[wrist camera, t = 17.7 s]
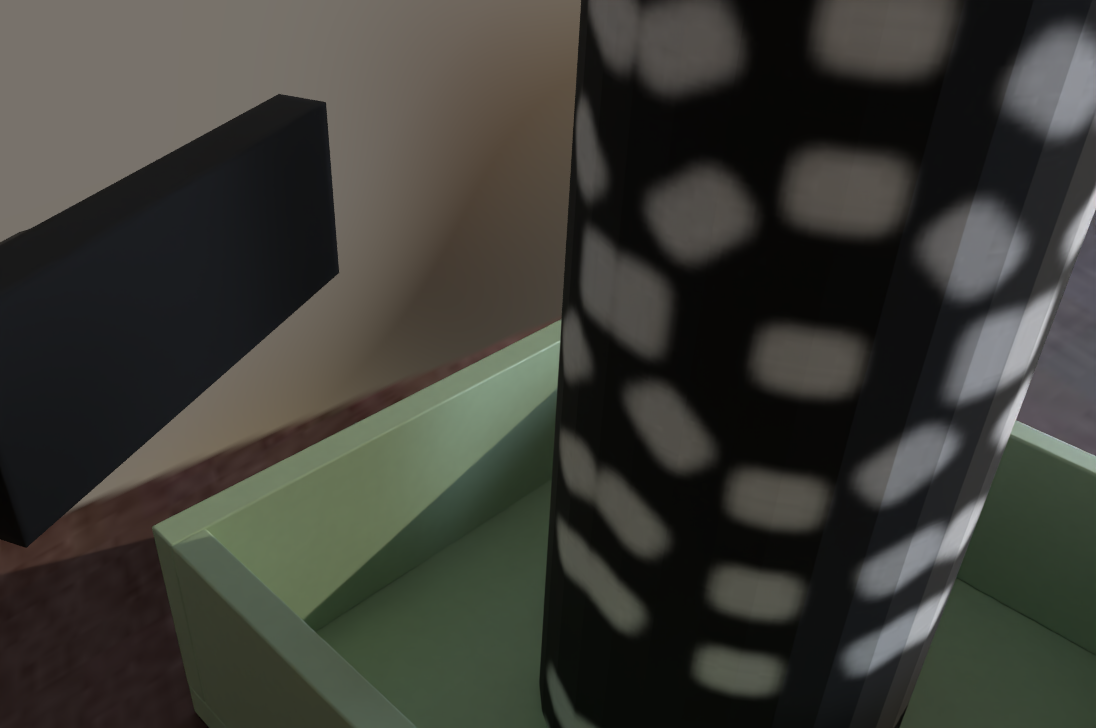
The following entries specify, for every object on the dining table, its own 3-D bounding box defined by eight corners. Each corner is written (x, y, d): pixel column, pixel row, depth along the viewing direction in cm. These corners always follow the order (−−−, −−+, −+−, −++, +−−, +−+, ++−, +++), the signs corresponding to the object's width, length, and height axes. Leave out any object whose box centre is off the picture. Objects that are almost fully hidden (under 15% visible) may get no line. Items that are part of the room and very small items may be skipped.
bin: (193, 710, 24) (150, 526, 21) (649, 415, 35) (669, 263, 32) (836, 1446, 14) (947, 1319, 11) (1192, 721, 25) (1302, 547, 22)
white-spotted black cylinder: (876, 596, 27) (1160, -288, 16) (903, 896, 20) (1432, -286, 9) (573, 542, 28) (643, -315, 17) (502, 808, 21) (542, -330, 10)
